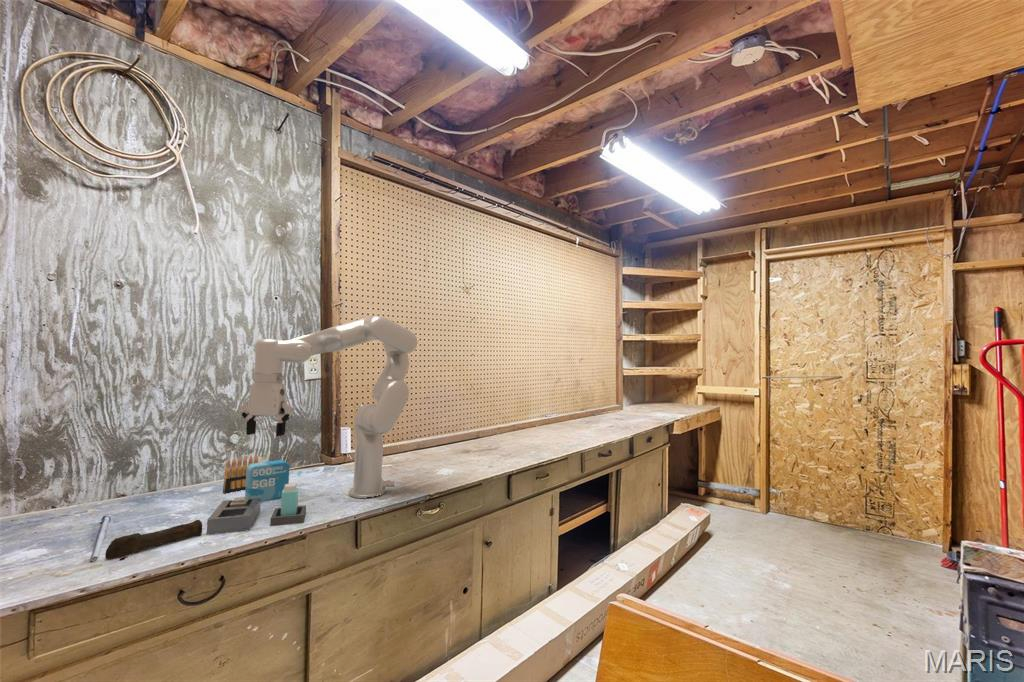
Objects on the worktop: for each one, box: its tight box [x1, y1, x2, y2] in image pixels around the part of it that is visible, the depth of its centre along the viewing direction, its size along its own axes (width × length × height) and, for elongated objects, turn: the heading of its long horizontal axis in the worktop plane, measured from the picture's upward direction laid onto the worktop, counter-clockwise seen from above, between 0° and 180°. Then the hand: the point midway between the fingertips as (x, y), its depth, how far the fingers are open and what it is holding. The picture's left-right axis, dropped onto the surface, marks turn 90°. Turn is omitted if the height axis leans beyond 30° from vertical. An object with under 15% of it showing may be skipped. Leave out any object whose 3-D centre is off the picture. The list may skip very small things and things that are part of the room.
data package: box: [244, 459, 290, 503], centre depth 144 cm, size 12×4×12 cm, turn 134°
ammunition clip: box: [222, 453, 259, 495], centre depth 153 cm, size 11×2×12 cm, turn 139°
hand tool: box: [104, 519, 203, 560], centre depth 107 cm, size 19×4×5 cm, turn 144°
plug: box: [280, 482, 299, 516], centre depth 127 cm, size 4×4×10 cm
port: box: [206, 496, 262, 535], centre depth 124 cm, size 10×16×5 cm, turn 21°
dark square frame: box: [269, 505, 307, 527], centre depth 127 cm, size 8×8×2 cm
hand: (265, 434), depth 131 cm, fingers open, 9 cm apart
